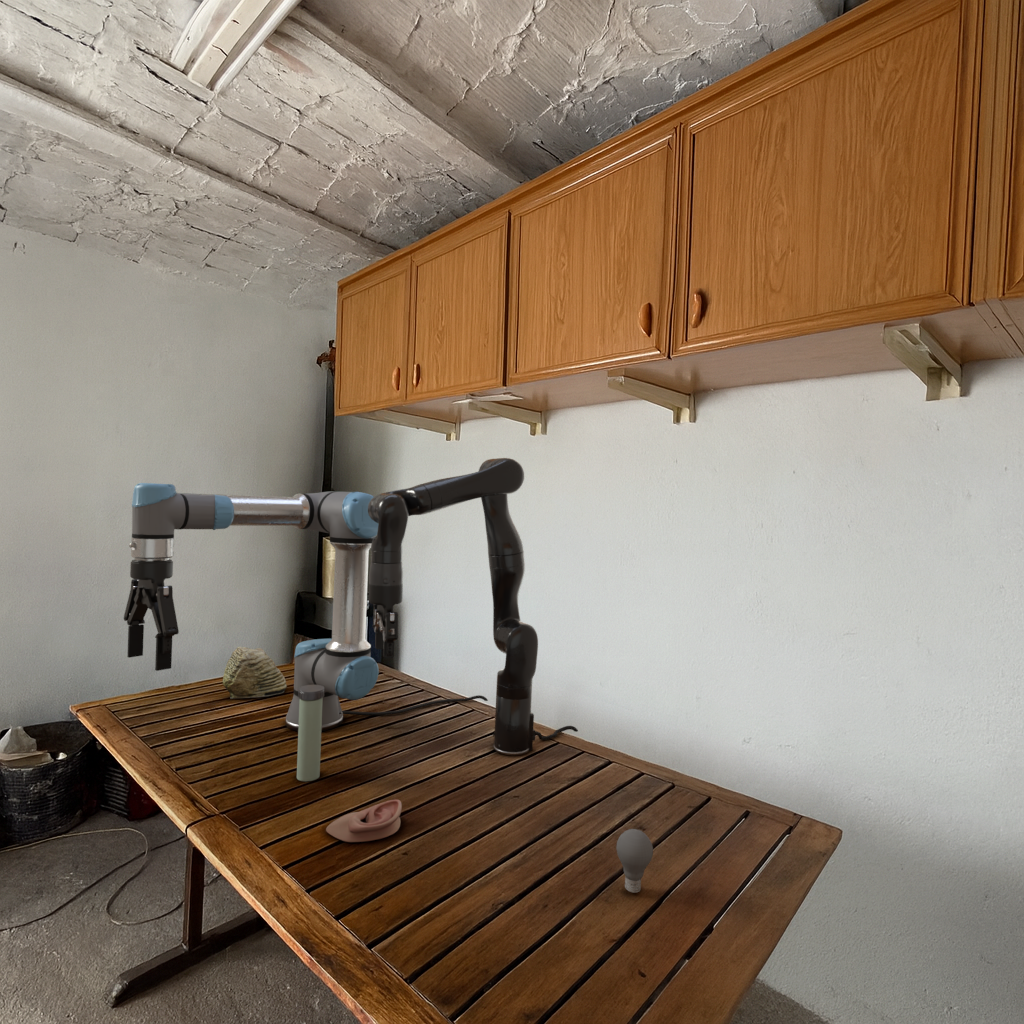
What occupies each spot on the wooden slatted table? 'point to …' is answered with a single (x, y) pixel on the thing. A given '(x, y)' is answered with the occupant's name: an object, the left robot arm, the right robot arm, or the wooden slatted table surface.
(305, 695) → the lid
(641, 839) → the light bulb
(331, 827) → the anatomical model
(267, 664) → the fossil
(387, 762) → the wooden slatted table surface
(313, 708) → the pale green cylinder
